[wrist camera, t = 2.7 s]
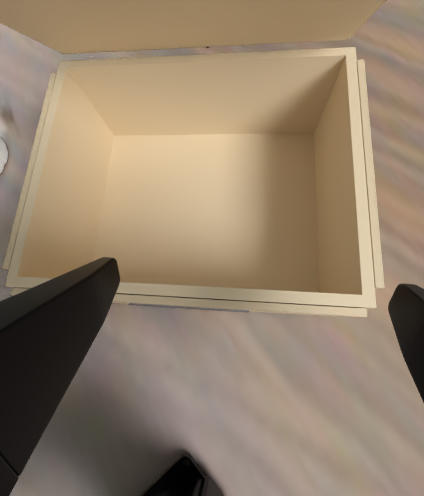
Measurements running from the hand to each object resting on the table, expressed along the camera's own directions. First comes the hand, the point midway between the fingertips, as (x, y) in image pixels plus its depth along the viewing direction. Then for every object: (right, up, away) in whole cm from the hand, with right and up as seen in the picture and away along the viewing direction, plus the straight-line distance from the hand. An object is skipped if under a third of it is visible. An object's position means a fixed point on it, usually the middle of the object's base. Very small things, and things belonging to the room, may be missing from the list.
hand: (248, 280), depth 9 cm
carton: (-2, +4, +15) cm, 16 cm away
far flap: (-3, +13, +5) cm, 14 cm away
